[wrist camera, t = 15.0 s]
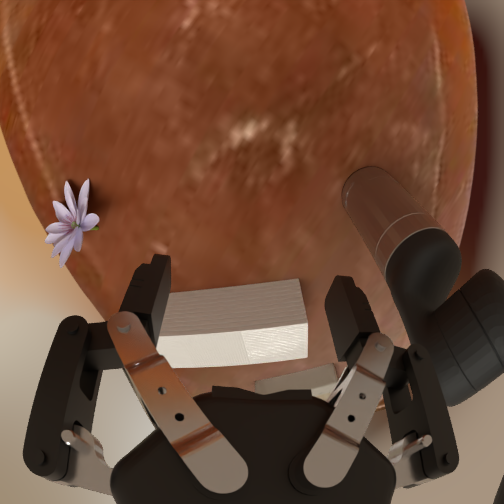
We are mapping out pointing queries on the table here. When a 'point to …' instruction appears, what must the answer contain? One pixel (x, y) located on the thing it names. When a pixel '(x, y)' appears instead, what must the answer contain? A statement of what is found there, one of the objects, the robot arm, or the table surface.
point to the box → (302, 382)
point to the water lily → (71, 223)
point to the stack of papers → (235, 325)
